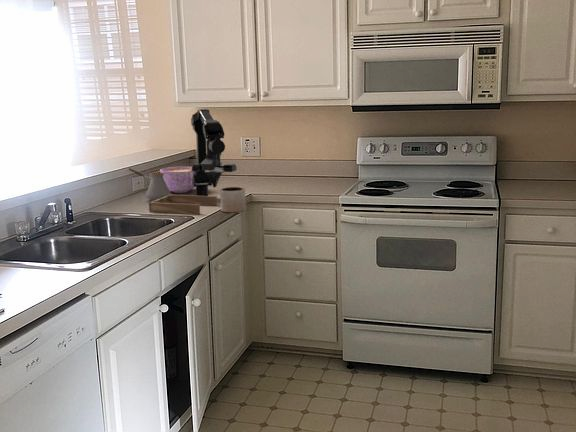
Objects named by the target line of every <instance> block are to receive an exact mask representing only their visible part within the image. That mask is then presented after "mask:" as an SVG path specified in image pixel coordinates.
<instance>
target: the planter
mask: <svg viewBox="0 0 576 432" xmlns="http://www.w3.org/2000/svg"><path fill="white" fill-rule="evenodd" d="M219 191H220V192H219V194H220V211H221V212H223V213H226V214H227V213H228V214H234V213H235V214H236V213H242V212H245V211H246V208H247V206H246V205H247V203H246V202H247V201H246V189H245V188H244V187H241V186H228V187H227V186H226V187H221V188H220V190H219Z"/></svg>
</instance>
